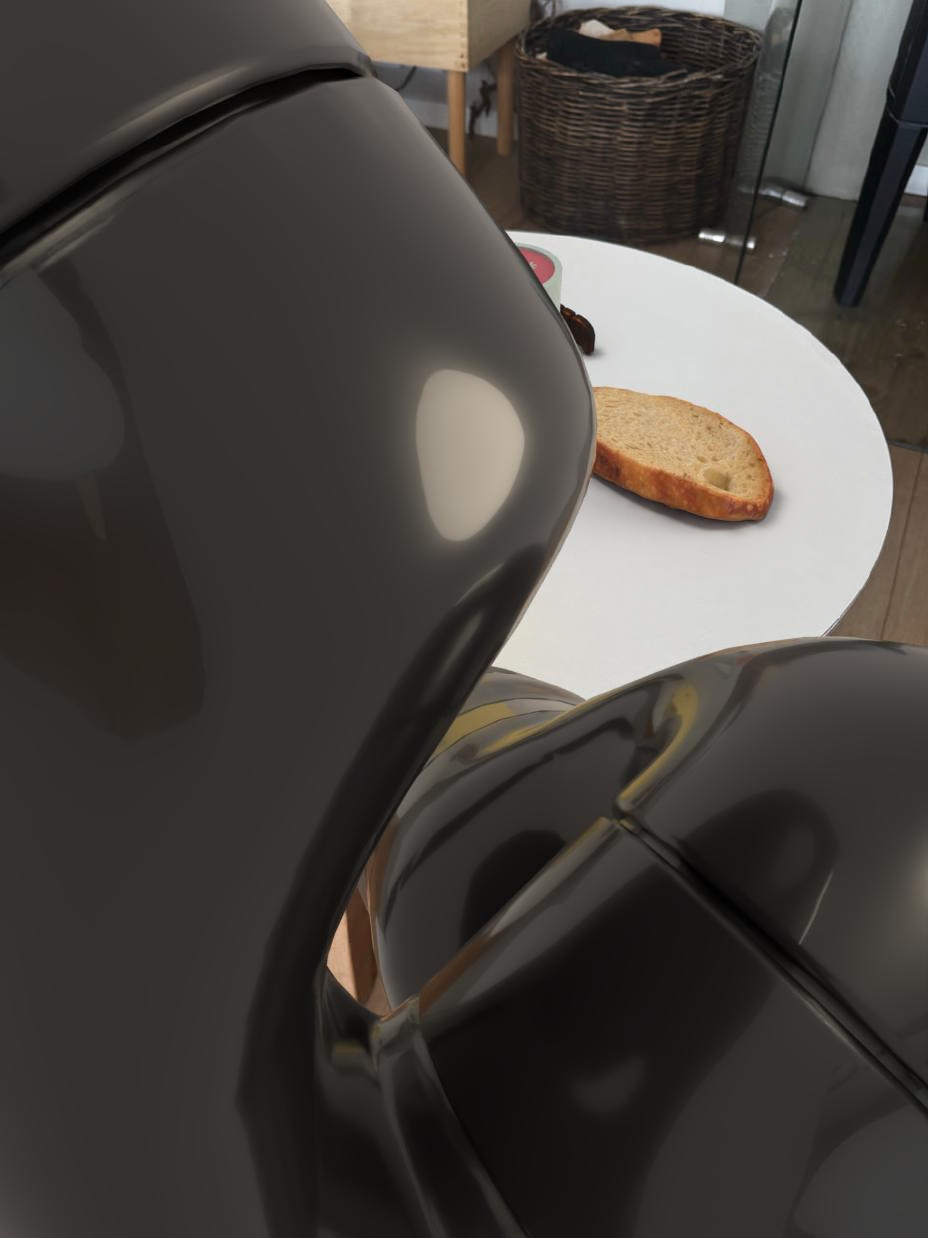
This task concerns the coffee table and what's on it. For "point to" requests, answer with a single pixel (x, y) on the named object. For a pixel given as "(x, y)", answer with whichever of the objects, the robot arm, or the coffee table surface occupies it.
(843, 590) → the coffee table surface
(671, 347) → the coffee table surface
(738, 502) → the slice of bread
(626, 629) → the coffee table surface
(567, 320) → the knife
